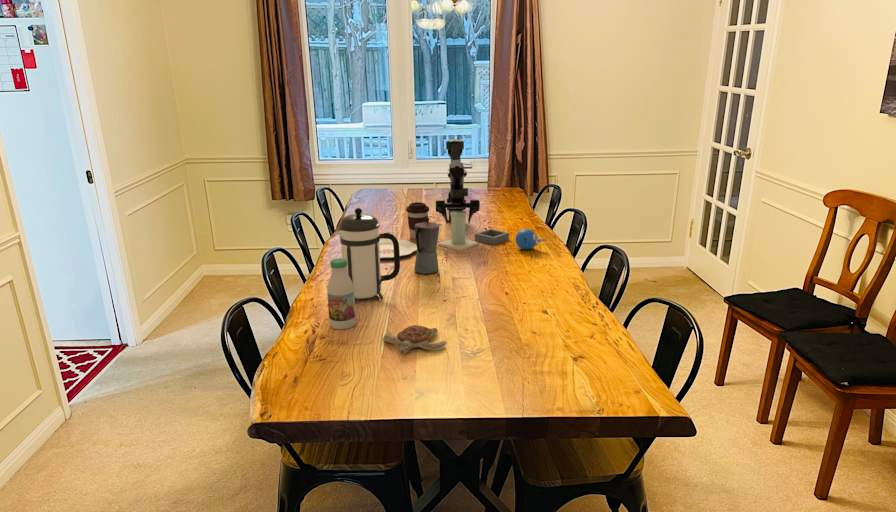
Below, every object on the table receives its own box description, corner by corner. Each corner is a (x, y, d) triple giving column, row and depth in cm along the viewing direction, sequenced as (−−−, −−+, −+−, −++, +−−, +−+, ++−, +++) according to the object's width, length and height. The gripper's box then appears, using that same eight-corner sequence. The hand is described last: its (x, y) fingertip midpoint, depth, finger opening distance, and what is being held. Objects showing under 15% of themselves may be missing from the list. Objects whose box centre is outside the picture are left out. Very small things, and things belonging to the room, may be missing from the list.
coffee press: (369, 310, 181) (363, 216, 171) (330, 299, 189) (323, 210, 179) (402, 292, 195) (399, 204, 185) (365, 283, 203) (360, 199, 193)
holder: (474, 240, 251) (474, 233, 250) (490, 235, 258) (490, 228, 257) (493, 244, 244) (493, 238, 243) (508, 239, 251) (508, 232, 250)
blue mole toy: (544, 254, 231) (544, 234, 229) (514, 252, 233) (514, 232, 231) (545, 245, 242) (546, 226, 240) (516, 244, 245) (517, 224, 242)
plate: (428, 247, 242) (427, 243, 242) (398, 265, 221) (397, 260, 220) (376, 240, 253) (376, 236, 252) (343, 257, 231) (343, 252, 230)
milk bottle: (331, 319, 174) (326, 256, 168) (357, 318, 175) (353, 255, 168) (328, 331, 167) (323, 265, 160) (355, 329, 167) (351, 264, 161)
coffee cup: (430, 234, 260) (430, 201, 255) (428, 240, 251) (427, 206, 246) (409, 233, 261) (408, 201, 256) (405, 240, 252) (404, 206, 247)
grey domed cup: (450, 240, 247) (450, 210, 243) (465, 240, 247) (465, 210, 243) (450, 246, 239) (450, 215, 235) (466, 246, 239) (467, 215, 235)
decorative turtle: (371, 352, 155) (370, 335, 153) (397, 326, 170) (396, 311, 168) (434, 363, 149) (433, 346, 147) (455, 336, 164) (455, 319, 162)
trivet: (438, 245, 244) (438, 243, 244) (457, 239, 252) (457, 236, 252) (459, 251, 236) (459, 248, 236) (478, 244, 245) (478, 242, 244)
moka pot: (445, 266, 219) (445, 214, 213) (431, 279, 205) (430, 225, 199) (422, 263, 222) (421, 212, 216) (406, 276, 208) (404, 223, 202)
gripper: (435, 181, 244) (435, 213, 237) (479, 181, 244) (481, 213, 237) (435, 195, 254) (435, 226, 247) (478, 195, 254) (479, 226, 247)
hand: (458, 223), depth 244 cm, fingers open, 9 cm apart
